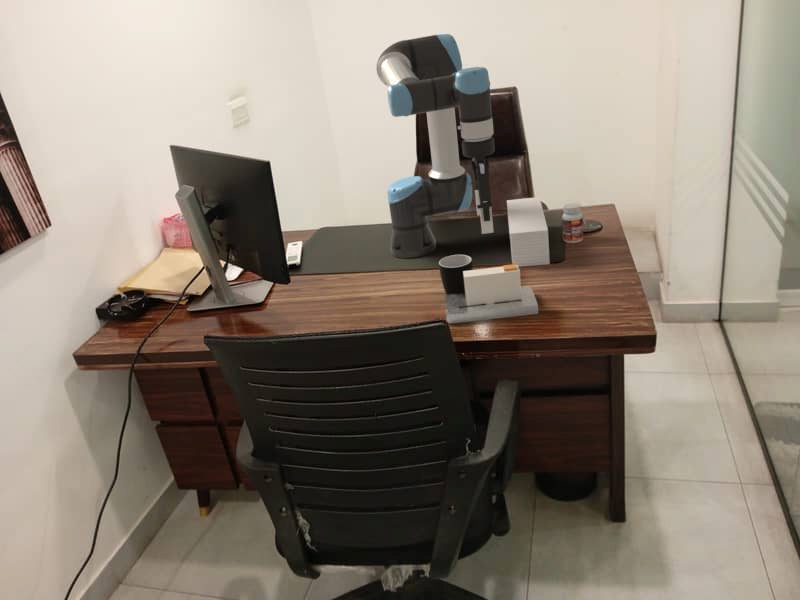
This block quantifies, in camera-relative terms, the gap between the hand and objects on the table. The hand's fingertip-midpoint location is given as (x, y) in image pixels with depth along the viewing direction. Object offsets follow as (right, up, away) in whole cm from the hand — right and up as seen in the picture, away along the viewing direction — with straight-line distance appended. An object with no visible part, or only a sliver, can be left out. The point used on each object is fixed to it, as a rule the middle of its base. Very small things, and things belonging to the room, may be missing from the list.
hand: (485, 223), depth 166 cm
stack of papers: (+19, -2, +45) cm, 49 cm away
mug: (-4, -17, +20) cm, 27 cm away
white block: (+3, -20, +8) cm, 22 cm away
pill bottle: (+33, 0, +44) cm, 55 cm away
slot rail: (+2, -21, +9) cm, 23 cm away
